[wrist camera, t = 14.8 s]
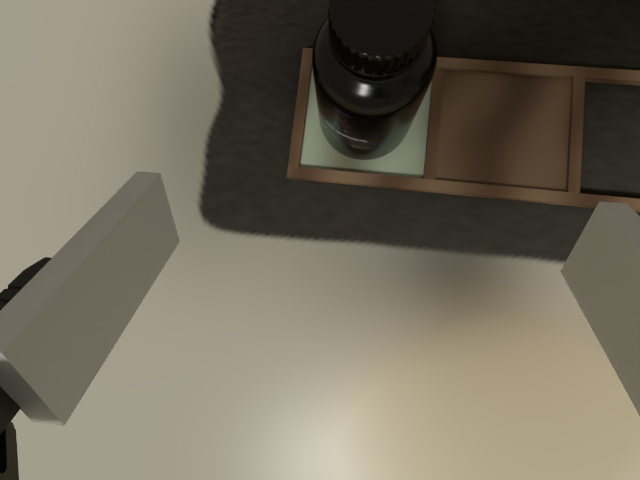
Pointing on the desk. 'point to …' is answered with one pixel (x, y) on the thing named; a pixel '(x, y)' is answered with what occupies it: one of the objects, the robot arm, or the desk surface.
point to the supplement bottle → (372, 72)
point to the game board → (472, 134)
